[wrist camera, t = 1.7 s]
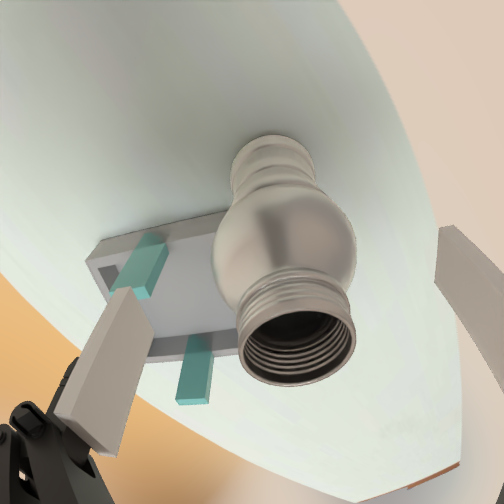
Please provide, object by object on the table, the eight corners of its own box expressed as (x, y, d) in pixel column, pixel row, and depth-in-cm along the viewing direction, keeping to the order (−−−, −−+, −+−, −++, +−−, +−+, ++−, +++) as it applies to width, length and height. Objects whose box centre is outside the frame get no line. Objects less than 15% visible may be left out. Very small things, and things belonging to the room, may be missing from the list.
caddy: (101, 240, 30) (55, 301, 21) (233, 209, 28) (223, 272, 20) (151, 339, 37) (131, 405, 28) (264, 324, 35) (266, 398, 27)
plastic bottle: (324, 161, 26) (439, 324, 9) (275, 218, 29) (300, 424, 12) (264, 114, 24) (290, 204, 7) (216, 176, 27) (153, 363, 10)
